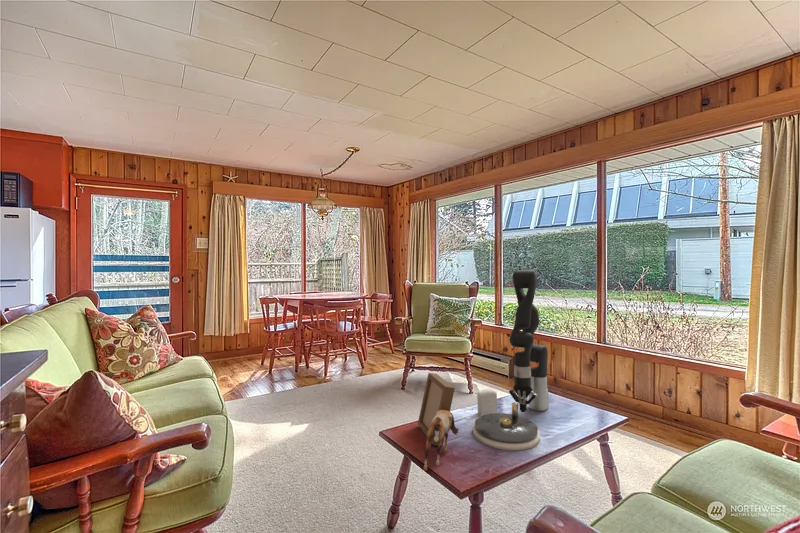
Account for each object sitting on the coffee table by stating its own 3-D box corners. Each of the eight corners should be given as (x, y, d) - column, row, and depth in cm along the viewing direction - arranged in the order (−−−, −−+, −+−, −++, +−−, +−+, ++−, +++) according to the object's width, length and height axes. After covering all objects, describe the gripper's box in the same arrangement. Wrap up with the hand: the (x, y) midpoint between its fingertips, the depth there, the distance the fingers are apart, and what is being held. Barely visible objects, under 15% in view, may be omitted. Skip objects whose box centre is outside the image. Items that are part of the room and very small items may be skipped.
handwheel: (489, 412, 184) (489, 396, 184) (545, 425, 168) (545, 408, 168) (464, 431, 163) (464, 414, 163) (525, 449, 146) (525, 430, 146)
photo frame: (433, 447, 154) (432, 387, 155) (417, 426, 175) (417, 373, 176) (465, 443, 158) (465, 384, 158) (446, 422, 179) (446, 371, 179)
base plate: (506, 416, 185) (505, 412, 185) (555, 439, 160) (554, 434, 160) (459, 429, 171) (459, 425, 171) (505, 457, 146) (505, 452, 146)
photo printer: (480, 416, 186) (479, 391, 186) (476, 413, 190) (475, 389, 190) (498, 414, 188) (498, 389, 188) (494, 410, 192) (494, 387, 192)
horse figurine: (434, 481, 131) (440, 424, 130) (414, 474, 134) (419, 418, 133) (458, 442, 159) (463, 395, 158) (441, 437, 162) (445, 391, 161)
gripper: (539, 375, 172) (540, 412, 172) (511, 370, 180) (512, 406, 180) (534, 379, 166) (535, 417, 166) (505, 374, 174) (506, 411, 174)
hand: (523, 411), depth 173 cm, fingers closed
